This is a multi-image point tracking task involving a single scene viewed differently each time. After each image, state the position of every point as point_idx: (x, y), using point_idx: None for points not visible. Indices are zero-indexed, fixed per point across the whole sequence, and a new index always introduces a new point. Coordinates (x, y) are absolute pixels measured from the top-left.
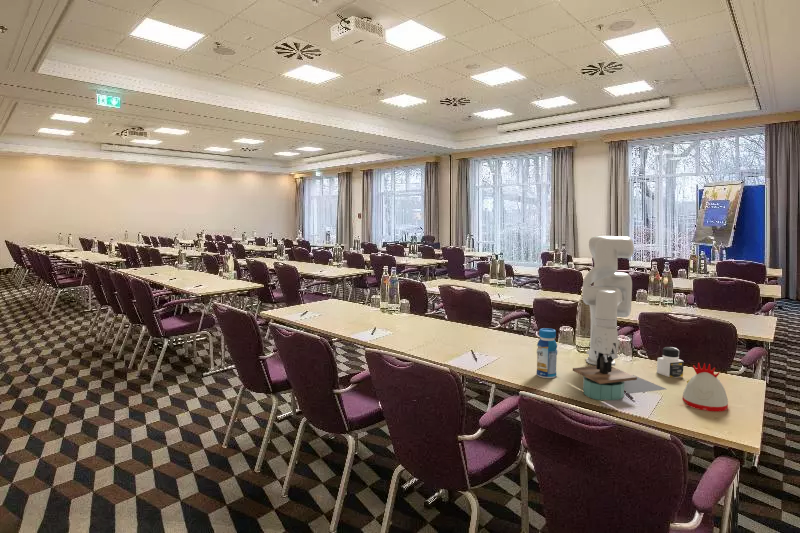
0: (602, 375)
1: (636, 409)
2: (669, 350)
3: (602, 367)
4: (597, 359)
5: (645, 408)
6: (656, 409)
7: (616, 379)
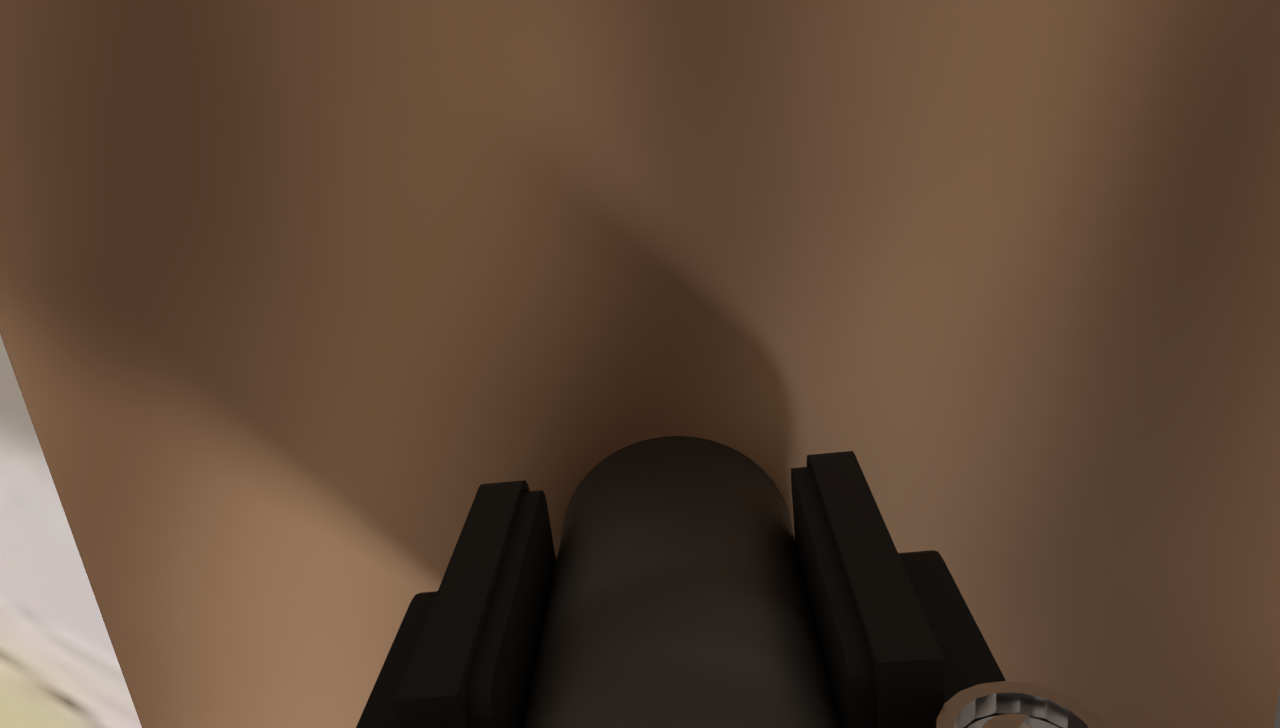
0: (429, 360)
1: (6, 460)
2: None
3: (593, 550)
4: (901, 652)
5: (53, 597)
6: (23, 702)
7: (72, 528)
